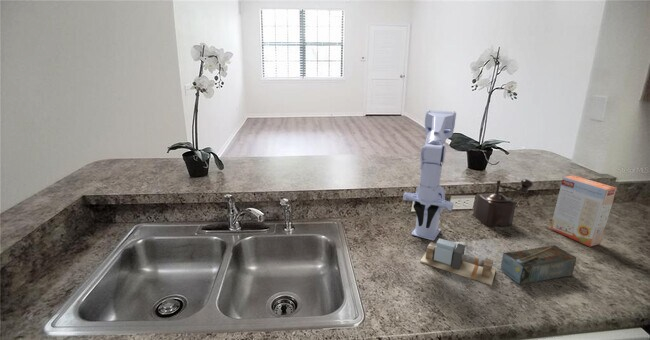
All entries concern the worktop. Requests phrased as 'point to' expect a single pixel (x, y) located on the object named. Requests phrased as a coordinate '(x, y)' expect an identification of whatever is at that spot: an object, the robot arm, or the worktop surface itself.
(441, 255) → the sleeve
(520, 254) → the beverage carton
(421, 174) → the robot arm
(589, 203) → the cracker box
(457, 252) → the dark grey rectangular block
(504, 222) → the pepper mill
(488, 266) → the pipe stand
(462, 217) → the worktop surface
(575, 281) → the worktop surface
